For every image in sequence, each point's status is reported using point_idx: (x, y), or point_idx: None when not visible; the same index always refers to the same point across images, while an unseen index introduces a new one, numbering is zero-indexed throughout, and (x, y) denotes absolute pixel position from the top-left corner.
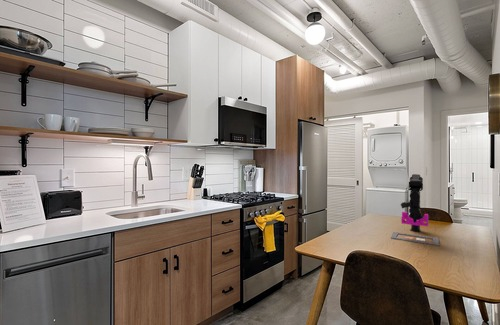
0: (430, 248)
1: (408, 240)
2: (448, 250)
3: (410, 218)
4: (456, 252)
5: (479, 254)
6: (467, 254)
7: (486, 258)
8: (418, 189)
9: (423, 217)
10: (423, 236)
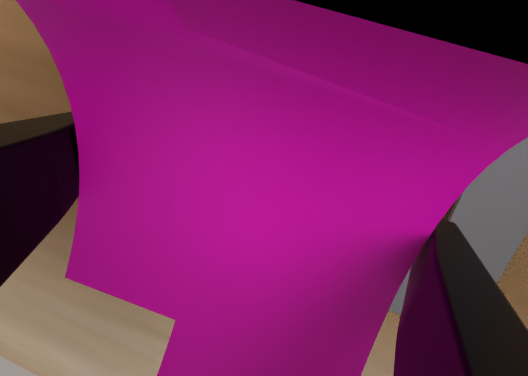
0: (2, 104)
1: None
2: (52, 234)
3: (236, 93)
4: (39, 265)
5: (94, 371)
6: (42, 308)
7: (36, 360)
8: None
9: None
10: (505, 195)
